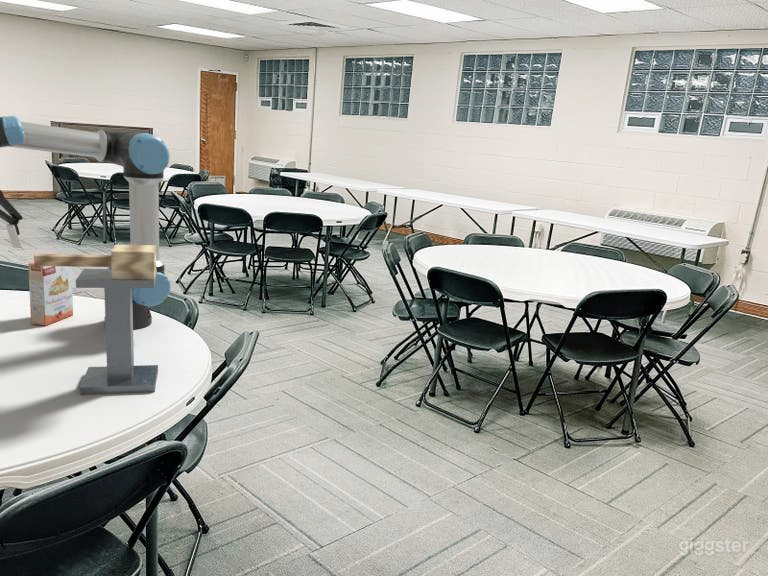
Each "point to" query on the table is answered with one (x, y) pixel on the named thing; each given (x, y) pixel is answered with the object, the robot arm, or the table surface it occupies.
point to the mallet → (110, 261)
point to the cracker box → (50, 293)
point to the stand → (117, 337)
